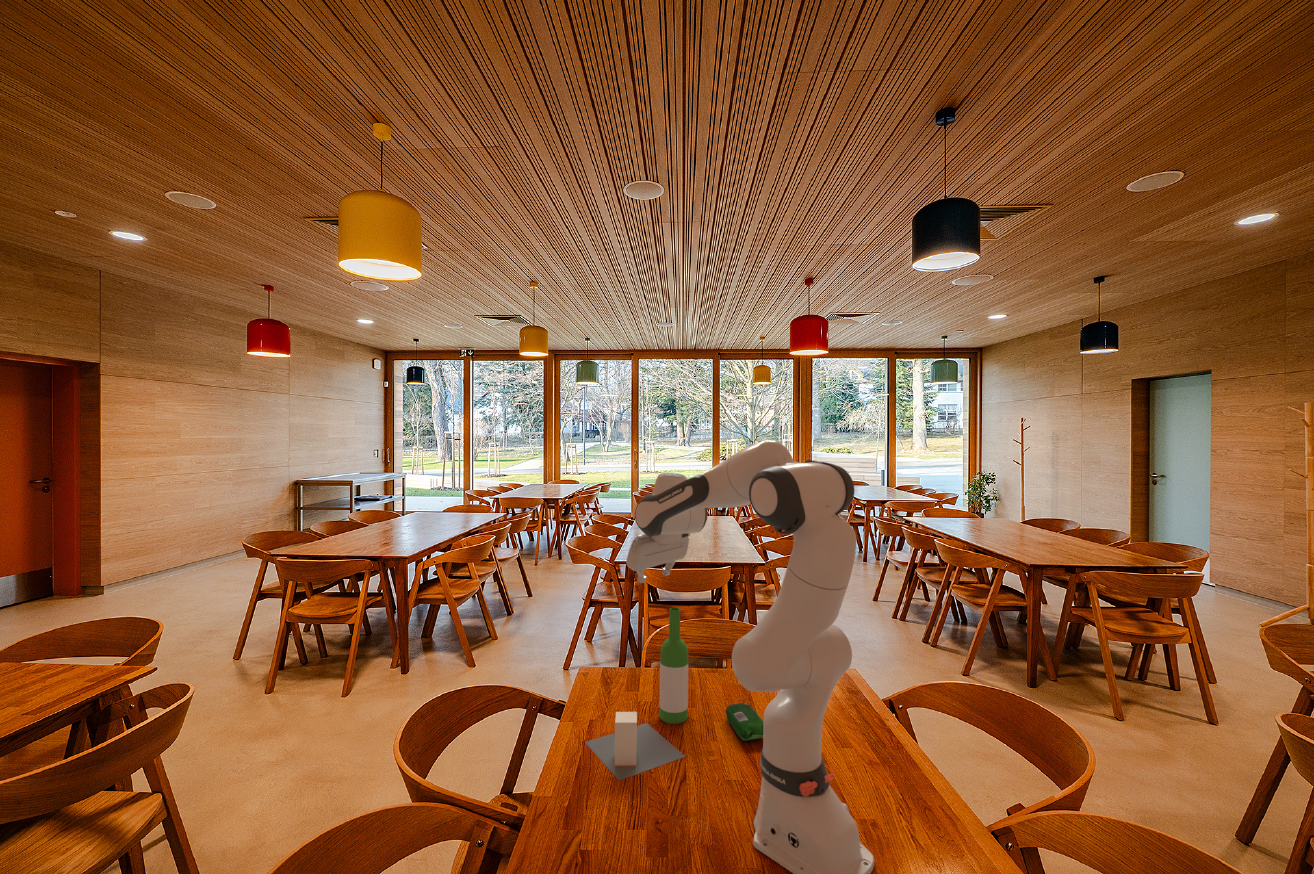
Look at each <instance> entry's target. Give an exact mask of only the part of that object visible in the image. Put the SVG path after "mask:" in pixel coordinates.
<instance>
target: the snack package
mask: <svg viewBox="0 0 1314 874" xmlns="http://www.w3.org/2000/svg"><path fill="white" fill-rule="evenodd" d="M725 714H726V718H727V719H726V720H727V722H728V723H729V724H730V726H731V727H732V729H733V731H734V732H735V733H736V735H737V736H738V737H739V738H740V739H741V740H742V741H744V742H747V741H753V740H758V739H762V738H763V719H762V717H761V716H760V715H759V714H758V713H757V711H756V710H755V709H754V707H752V706H751V705H750V704H749V703H747V702H738V703H733V704H729V705H727V706H726V708H725Z"/></svg>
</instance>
